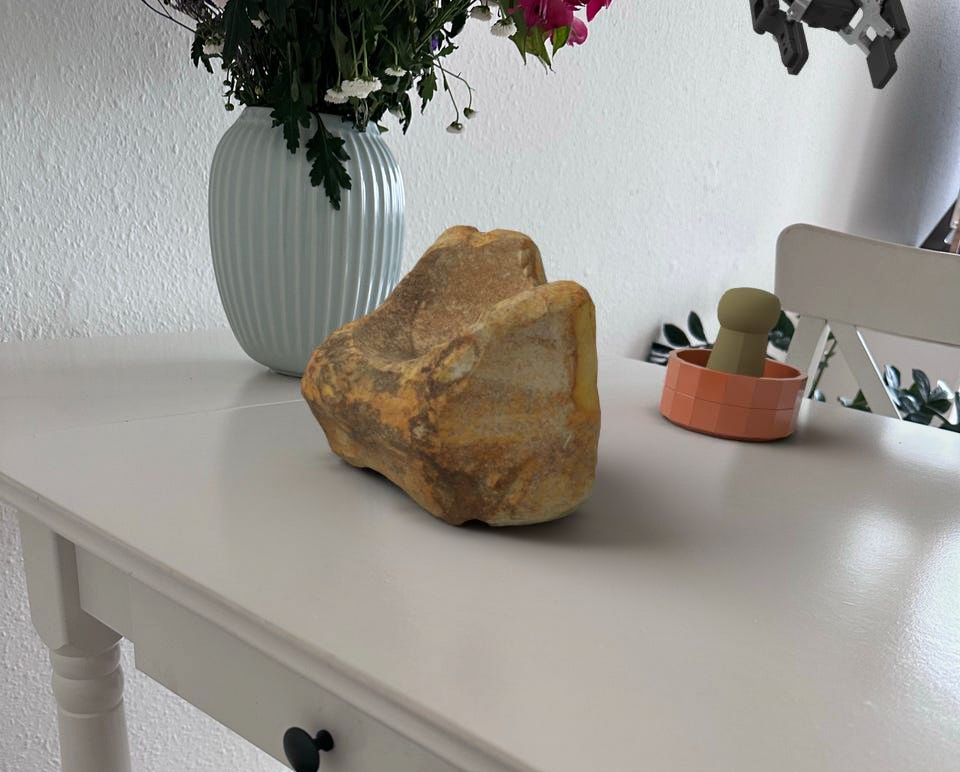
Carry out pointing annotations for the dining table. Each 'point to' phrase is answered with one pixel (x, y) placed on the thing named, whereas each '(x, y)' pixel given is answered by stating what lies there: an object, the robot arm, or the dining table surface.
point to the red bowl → (731, 398)
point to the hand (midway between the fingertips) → (842, 74)
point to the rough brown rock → (469, 384)
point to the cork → (744, 331)
